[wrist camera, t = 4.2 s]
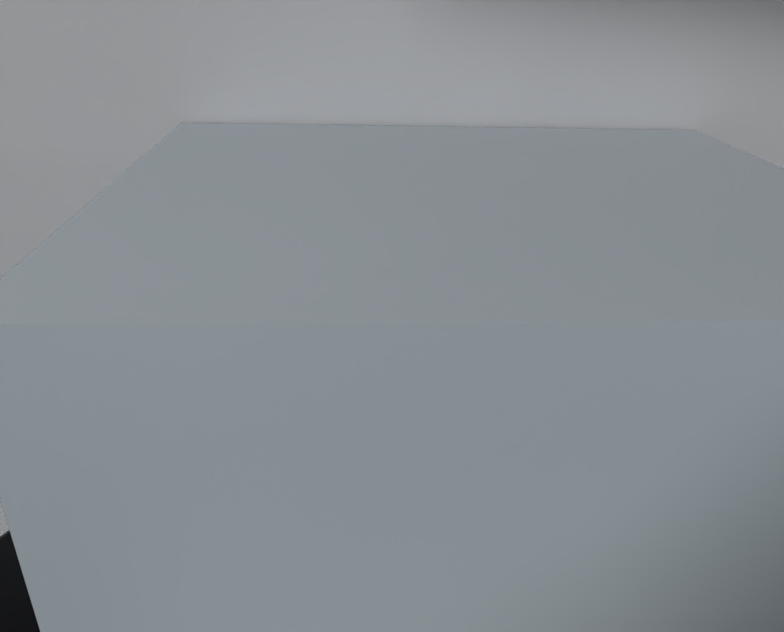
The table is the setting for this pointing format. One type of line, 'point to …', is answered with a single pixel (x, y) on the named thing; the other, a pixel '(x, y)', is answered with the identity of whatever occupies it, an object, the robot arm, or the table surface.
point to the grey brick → (404, 386)
